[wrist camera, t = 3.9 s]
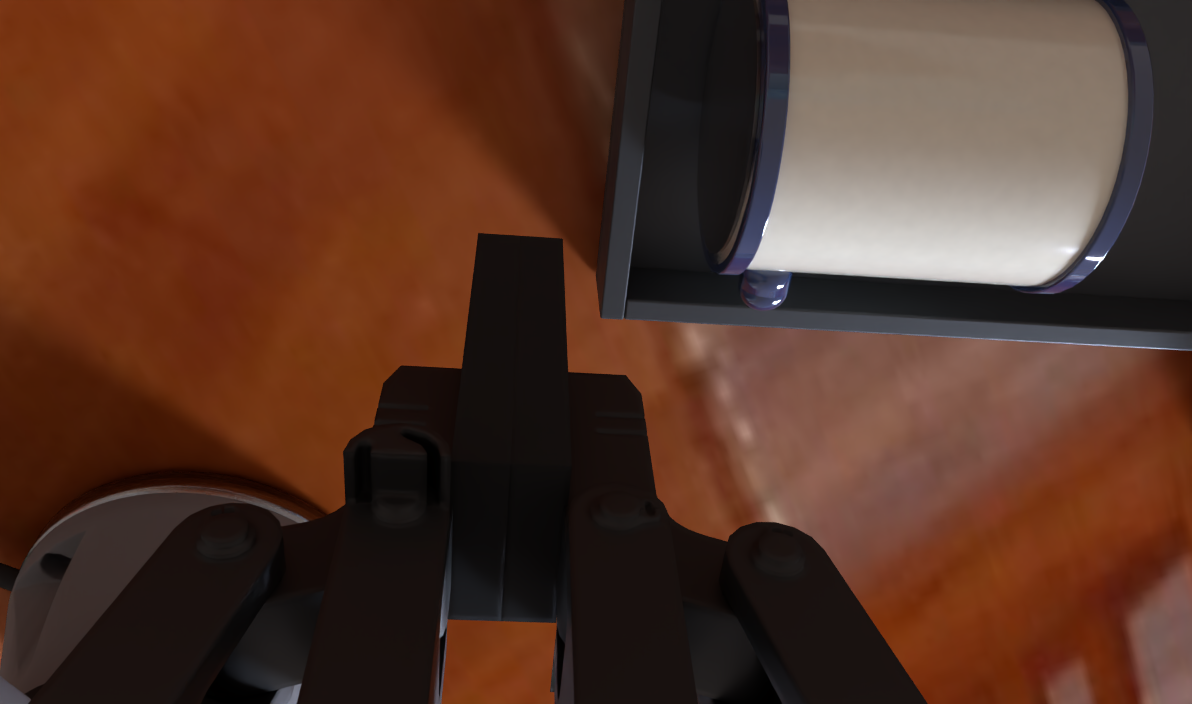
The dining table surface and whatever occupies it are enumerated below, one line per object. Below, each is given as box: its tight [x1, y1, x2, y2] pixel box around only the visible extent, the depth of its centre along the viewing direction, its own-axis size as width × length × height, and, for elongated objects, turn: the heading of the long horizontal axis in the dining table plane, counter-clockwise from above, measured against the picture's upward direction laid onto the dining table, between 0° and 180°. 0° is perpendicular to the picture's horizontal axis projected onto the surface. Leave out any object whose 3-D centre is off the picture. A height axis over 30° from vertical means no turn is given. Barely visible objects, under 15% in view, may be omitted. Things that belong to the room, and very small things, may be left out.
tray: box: [596, 0, 1192, 351], centre depth 33 cm, size 26×16×3 cm, turn 85°
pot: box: [697, 0, 1154, 311], centre depth 30 cm, size 10×12×9 cm
